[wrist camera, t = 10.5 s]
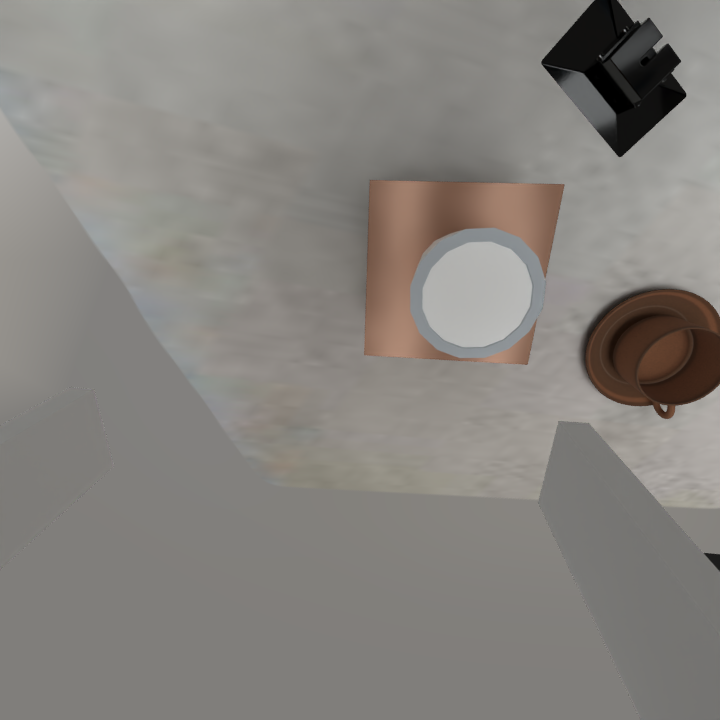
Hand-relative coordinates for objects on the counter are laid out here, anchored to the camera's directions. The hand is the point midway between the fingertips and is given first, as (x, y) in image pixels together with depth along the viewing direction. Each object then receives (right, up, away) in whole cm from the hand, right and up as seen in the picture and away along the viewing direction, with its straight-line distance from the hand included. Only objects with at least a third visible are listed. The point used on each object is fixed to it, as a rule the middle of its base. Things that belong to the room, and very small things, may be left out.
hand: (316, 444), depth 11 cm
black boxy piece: (+22, +25, +21) cm, 39 cm away
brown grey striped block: (+9, +12, +26) cm, 30 cm away
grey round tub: (+8, +8, +15) cm, 19 cm away
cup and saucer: (+30, +4, +28) cm, 41 cm away
